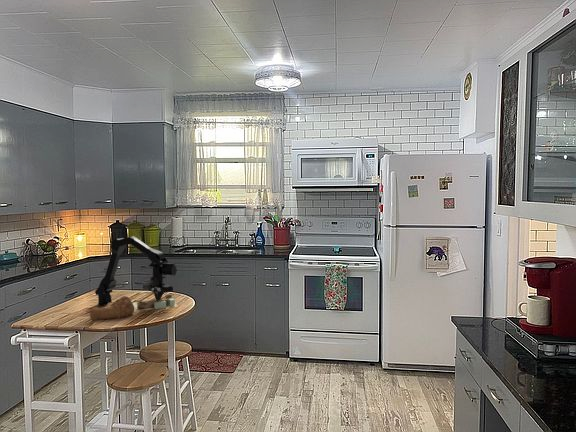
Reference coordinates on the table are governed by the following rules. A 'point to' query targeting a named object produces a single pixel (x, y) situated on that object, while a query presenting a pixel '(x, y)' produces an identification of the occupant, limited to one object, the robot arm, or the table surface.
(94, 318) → the tan rounded lump
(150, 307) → the board
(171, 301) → the socket blocks
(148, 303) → the hinged leg
